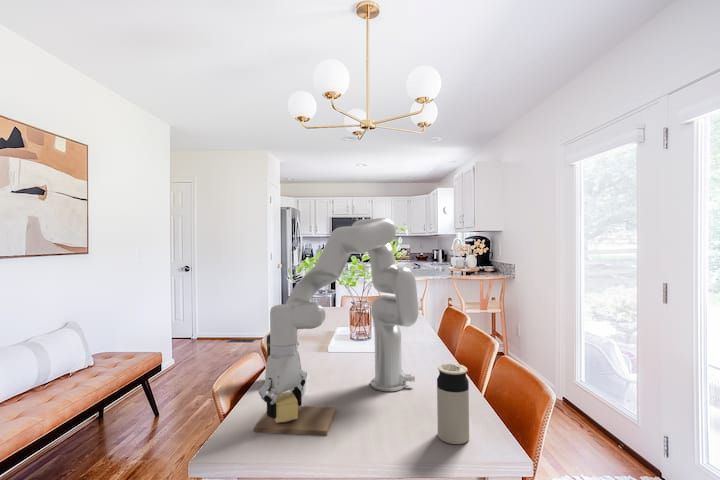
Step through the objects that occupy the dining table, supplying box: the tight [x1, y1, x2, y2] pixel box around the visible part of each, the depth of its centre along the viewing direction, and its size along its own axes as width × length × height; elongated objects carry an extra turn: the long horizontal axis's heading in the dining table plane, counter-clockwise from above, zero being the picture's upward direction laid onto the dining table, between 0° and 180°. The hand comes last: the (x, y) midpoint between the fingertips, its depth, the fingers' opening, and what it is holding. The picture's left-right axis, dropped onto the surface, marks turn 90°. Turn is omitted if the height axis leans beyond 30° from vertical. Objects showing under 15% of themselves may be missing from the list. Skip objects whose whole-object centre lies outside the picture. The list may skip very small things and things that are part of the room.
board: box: [253, 405, 337, 436], centre depth 107 cm, size 20×14×1 cm
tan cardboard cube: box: [274, 392, 298, 423], centre depth 105 cm, size 6×6×5 cm
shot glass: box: [289, 369, 309, 398], centre depth 126 cm, size 7×7×7 cm
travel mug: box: [436, 362, 470, 445], centre depth 97 cm, size 8×8×18 cm
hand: (284, 410), depth 105 cm, fingers open, 8 cm apart
